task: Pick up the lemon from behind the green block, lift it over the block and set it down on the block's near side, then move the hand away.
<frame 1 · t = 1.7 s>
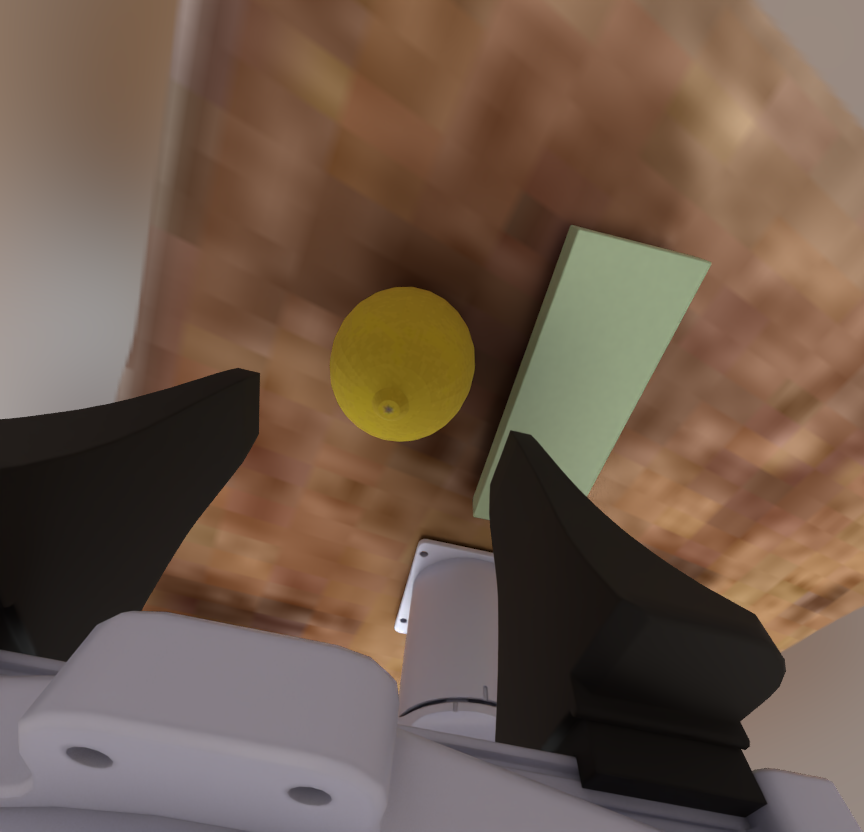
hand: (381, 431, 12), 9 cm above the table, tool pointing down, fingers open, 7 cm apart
green block: (557, 383, 21), on the table
lemon: (414, 328, 20), on the table
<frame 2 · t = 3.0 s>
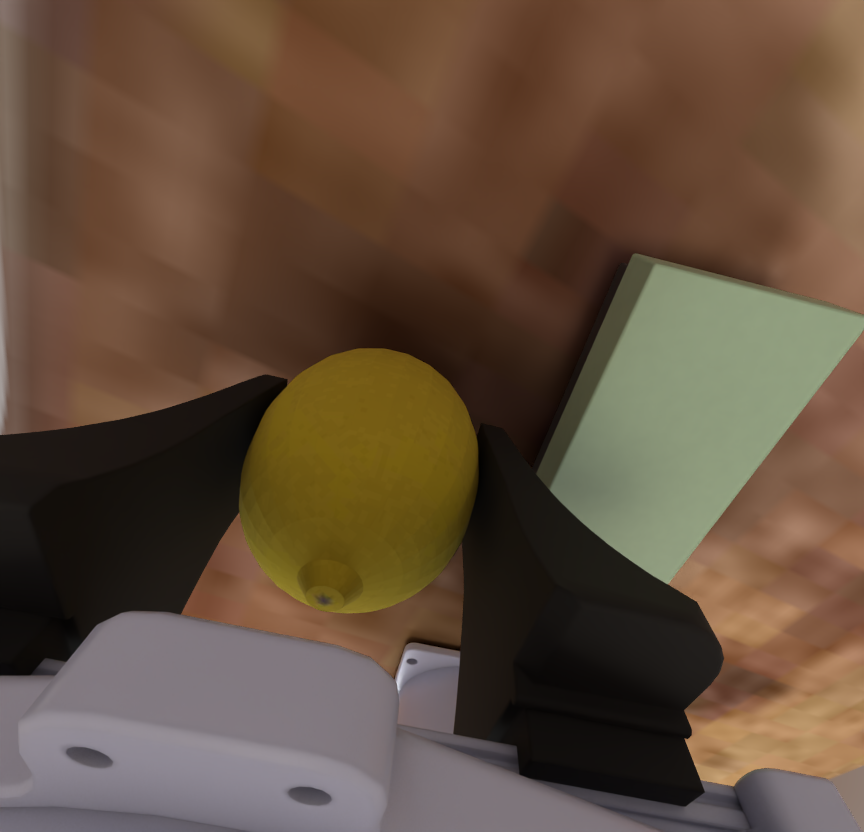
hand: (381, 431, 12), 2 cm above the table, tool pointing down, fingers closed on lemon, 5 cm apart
green block: (594, 464, 15), on the table
lemon: (393, 390, 14), on the table, touching gripper
when the fingers open (2 cm above the table, at t = 7.8 s): lemon stays where it is, on the table.
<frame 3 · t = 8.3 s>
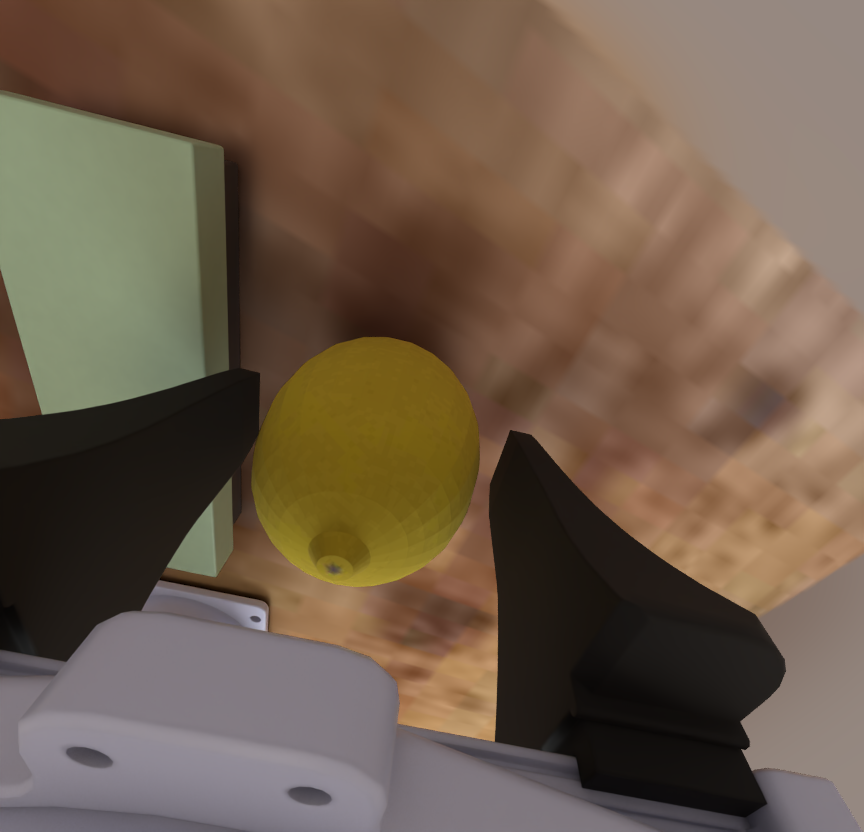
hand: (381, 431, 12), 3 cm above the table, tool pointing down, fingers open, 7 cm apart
green block: (181, 362, 15), on the table
lemon: (396, 380, 15), on the table
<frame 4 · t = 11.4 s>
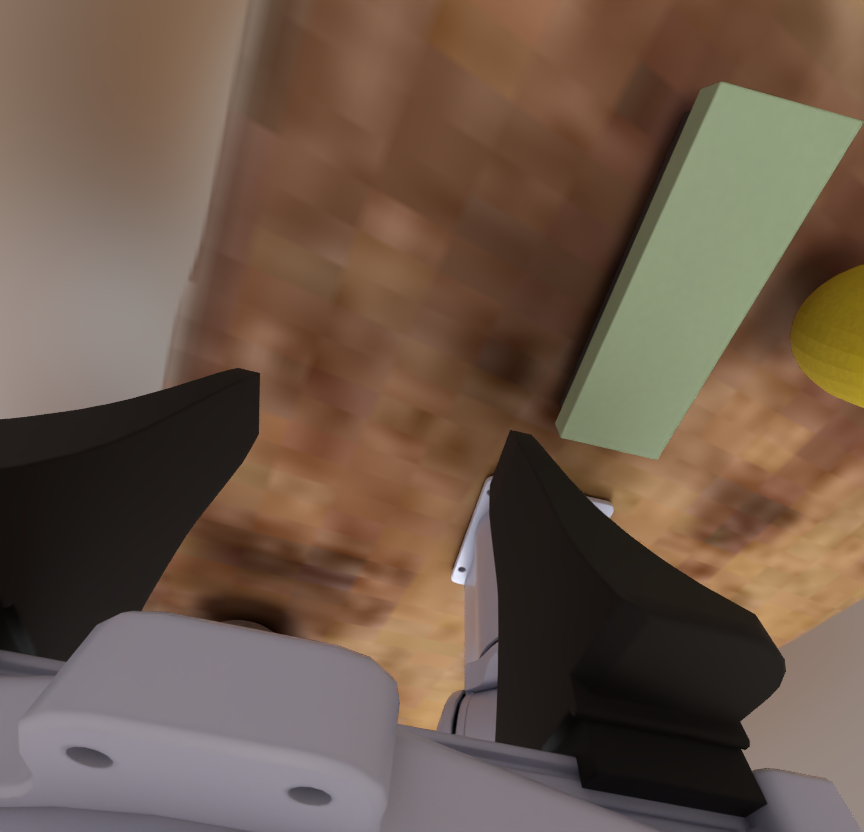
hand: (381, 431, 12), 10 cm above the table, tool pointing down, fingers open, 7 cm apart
green block: (653, 292, 20), on the table
lemon: (814, 306, 20), on the table
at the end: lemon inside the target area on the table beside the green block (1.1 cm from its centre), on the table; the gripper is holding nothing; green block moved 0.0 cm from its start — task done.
